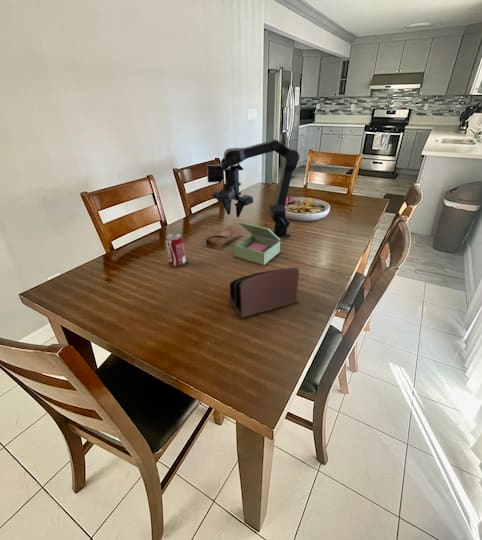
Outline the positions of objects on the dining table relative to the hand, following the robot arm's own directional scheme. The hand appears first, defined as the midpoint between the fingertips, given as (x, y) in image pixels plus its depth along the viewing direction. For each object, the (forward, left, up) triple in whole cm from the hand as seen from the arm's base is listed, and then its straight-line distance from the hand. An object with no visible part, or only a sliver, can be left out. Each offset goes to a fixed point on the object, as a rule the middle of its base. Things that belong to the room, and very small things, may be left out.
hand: (233, 216), depth 133 cm
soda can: (+31, -4, -12) cm, 33 cm away
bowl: (-51, +8, -12) cm, 53 cm away
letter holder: (+31, +39, -12) cm, 51 cm away
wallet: (+4, +18, -11) cm, 22 cm away
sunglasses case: (+3, -3, -12) cm, 13 cm away
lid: (+4, +18, -2) cm, 19 cm away
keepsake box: (+6, +18, -12) cm, 22 cm away
